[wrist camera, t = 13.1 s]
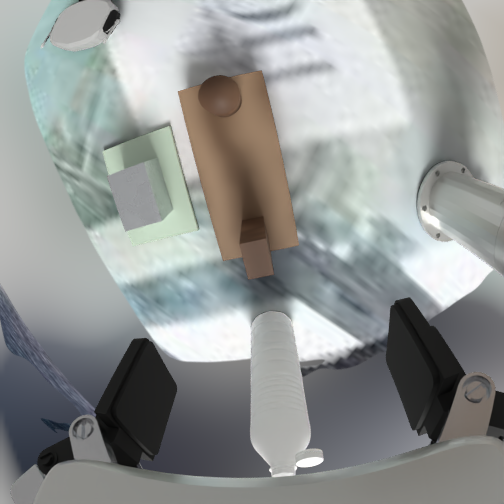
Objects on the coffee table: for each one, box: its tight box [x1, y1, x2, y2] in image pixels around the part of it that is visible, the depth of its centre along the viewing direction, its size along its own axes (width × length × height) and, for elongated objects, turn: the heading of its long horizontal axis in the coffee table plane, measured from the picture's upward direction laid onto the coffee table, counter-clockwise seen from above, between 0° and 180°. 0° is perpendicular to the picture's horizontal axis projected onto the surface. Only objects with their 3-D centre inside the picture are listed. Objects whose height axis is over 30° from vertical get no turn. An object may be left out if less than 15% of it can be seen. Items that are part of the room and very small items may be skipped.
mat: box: [103, 126, 199, 246], centre depth 34 cm, size 10×14×1 cm
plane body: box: [178, 71, 299, 280], centre depth 28 cm, size 9×20×12 cm, turn 13°
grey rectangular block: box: [107, 158, 173, 232], centre depth 32 cm, size 5×7×5 cm
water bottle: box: [250, 311, 324, 477], centre depth 31 cm, size 9×6×25 cm
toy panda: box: [41, 0, 120, 52], centre depth 21 cm, size 12×4×15 cm
